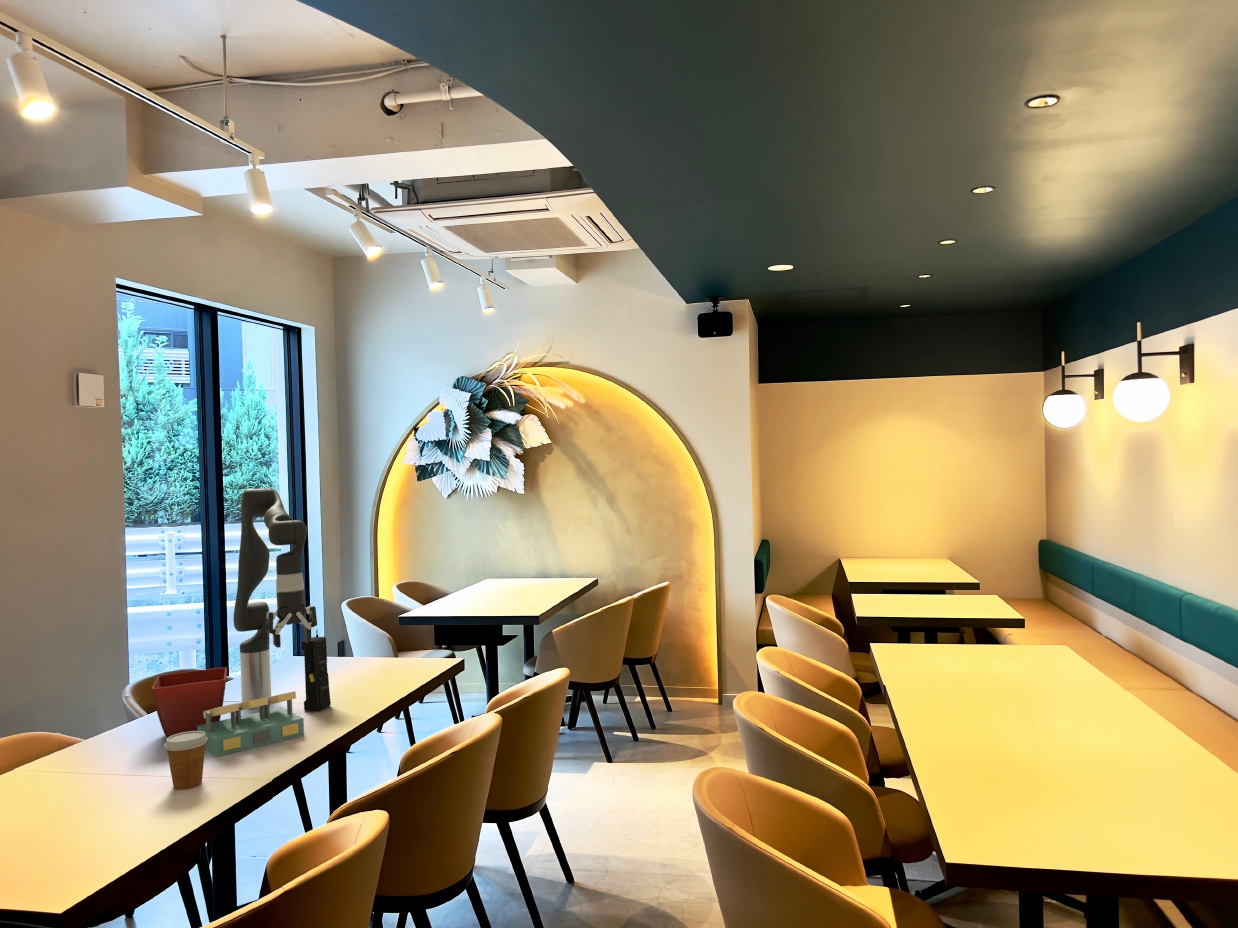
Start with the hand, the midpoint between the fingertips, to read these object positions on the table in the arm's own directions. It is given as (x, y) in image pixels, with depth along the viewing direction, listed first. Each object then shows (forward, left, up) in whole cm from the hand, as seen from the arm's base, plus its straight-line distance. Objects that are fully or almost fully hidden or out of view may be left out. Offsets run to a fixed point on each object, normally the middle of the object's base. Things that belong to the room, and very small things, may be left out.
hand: (292, 644), depth 249 cm
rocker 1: (-6, -19, -16) cm, 25 cm away
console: (-6, -11, -26) cm, 29 cm away
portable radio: (-22, +15, -26) cm, 37 cm away
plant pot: (-26, -21, -26) cm, 42 cm away
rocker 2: (-5, -11, -17) cm, 21 cm away
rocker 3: (-6, -3, -16) cm, 17 cm away
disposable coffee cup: (+20, -35, -26) cm, 48 cm away
